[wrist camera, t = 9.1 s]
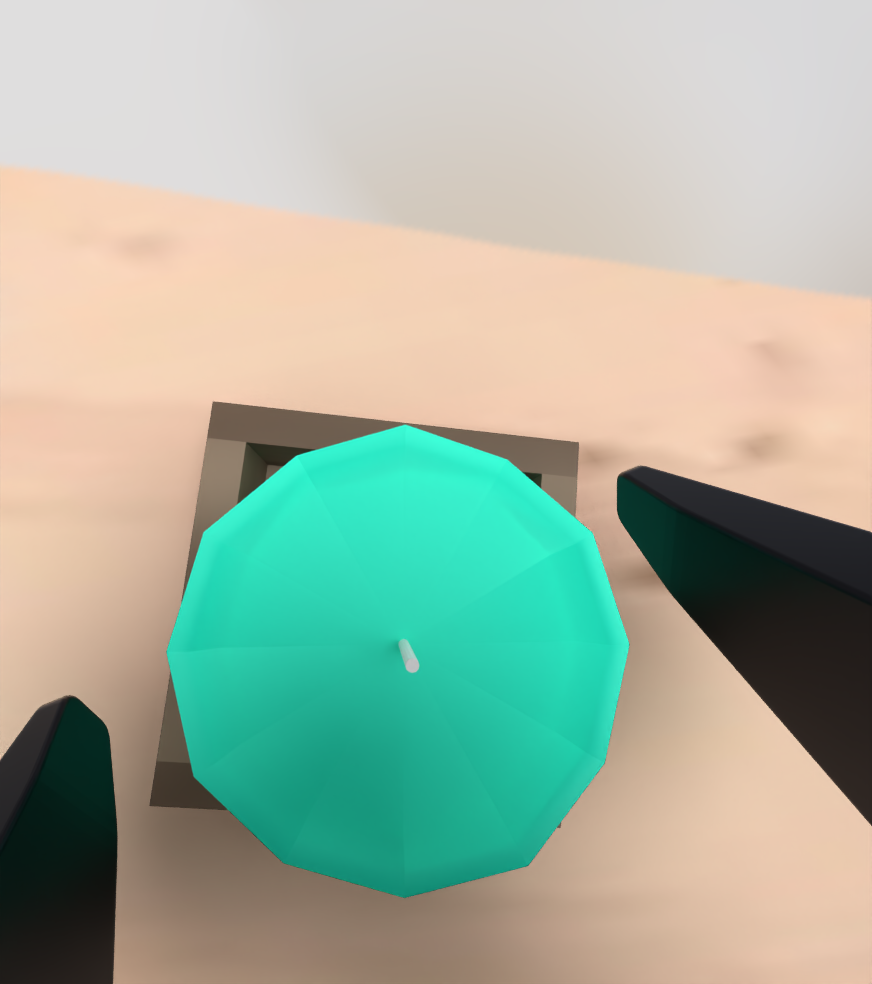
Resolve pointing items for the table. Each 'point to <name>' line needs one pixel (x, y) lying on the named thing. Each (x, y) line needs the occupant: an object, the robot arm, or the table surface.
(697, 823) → the table surface
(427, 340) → the table surface
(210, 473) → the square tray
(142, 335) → the table surface
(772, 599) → the robot arm
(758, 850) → the table surface
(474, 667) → the candle
